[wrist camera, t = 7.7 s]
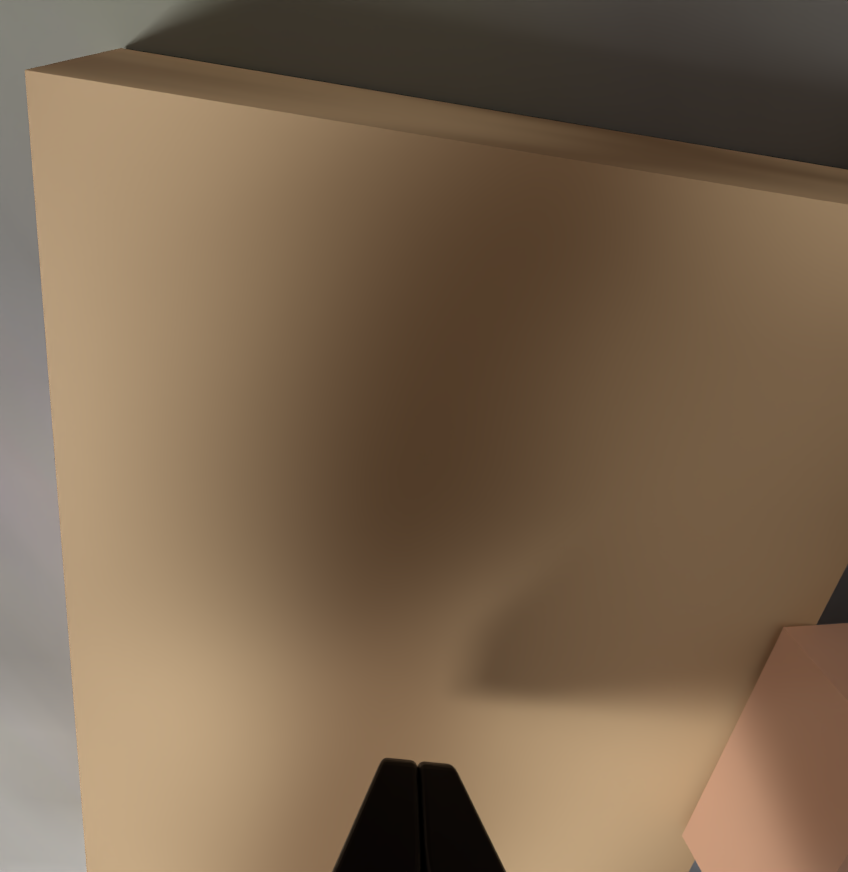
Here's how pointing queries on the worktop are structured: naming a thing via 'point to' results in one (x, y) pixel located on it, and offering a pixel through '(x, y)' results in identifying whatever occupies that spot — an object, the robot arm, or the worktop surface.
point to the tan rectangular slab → (422, 458)
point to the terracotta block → (783, 766)
